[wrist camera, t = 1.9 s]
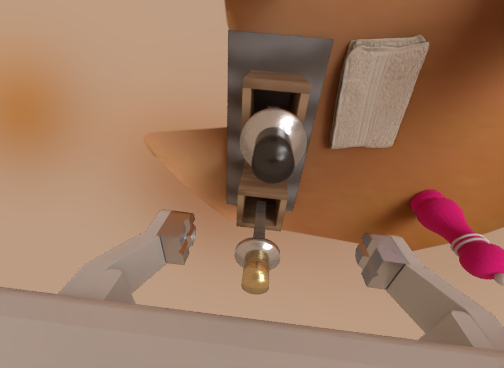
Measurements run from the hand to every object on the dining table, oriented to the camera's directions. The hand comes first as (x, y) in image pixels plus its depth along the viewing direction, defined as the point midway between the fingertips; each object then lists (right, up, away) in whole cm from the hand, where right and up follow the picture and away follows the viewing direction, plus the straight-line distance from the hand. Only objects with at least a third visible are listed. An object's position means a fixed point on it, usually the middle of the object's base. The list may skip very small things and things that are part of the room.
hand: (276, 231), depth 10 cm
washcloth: (+20, +18, +27) cm, 38 cm away
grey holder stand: (+2, +12, +32) cm, 34 cm away
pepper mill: (+38, -1, +37) cm, 53 cm away
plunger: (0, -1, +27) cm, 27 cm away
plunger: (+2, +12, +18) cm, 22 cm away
